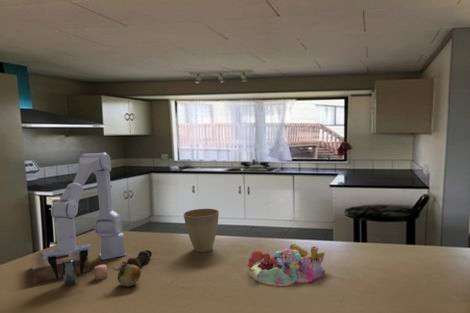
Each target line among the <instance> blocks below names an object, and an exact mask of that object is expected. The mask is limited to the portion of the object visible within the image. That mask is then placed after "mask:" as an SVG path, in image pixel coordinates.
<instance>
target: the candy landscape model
mask: <svg viewBox="0 0 470 313" xmlns="http://www.w3.org/2000/svg"><path fill="white" fill-rule="evenodd" d="M318 251H319V247H318V246H312V247H311V249H310V253H309V252H308V251H307V250H306V249H304V248H302V246H300V245H299V244H297V243H291V244H290V245H289V247H286V248H285V249H283V250H277V251H275V252H274V253H273V256H271V254H270V253H269V252H264V253H263V252H262V250H260V249H255V250H253V251H252V252H251V256H250V257H249V258H248V263H247V267H248V275H249V276H250V278H252V279H254V280H255V281H258V282H259V283H260V284H265V285H267V286H272V287H273V286H275V287H287V286H291V285H293V284H295V283H299V284H304V283H307V284H308V283H313V281H316V280H317V279H321V277H323V274H324V270H325V268H324V267H323V266H322V264H323V261H324V257H325V255H326V254H325V253H326V252H318ZM256 263H257V264H256Z"/></svg>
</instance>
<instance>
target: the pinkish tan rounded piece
mask: <svg viewBox="0 0 470 313" xmlns="http://www.w3.org/2000/svg"><path fill="white" fill-rule="evenodd" d="M107 267H108V266H107V264H98V265H96V266H94V276H95V280H96V281H102V280H106V279H107V278H108V276H109V275H108V268H107Z"/></svg>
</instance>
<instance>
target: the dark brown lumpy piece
mask: <svg viewBox="0 0 470 313" xmlns="http://www.w3.org/2000/svg"><path fill="white" fill-rule="evenodd" d="M152 254H153V252H152V251H150V250H148V249H145V250H141V251H140V252H138V254H137V256H136V257H129V258H128V260H126V262H127V264H129V265H136V266H138V267H139V269H140V270H141V267H142V264H146V263H149V261H150V258H151V257H152Z"/></svg>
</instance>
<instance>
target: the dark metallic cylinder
mask: <svg viewBox="0 0 470 313" xmlns="http://www.w3.org/2000/svg"><path fill="white" fill-rule="evenodd" d="M62 267H63V277H62V278H63V286H64V287H72V286H74V285H76V284H77V283H78V282H77V281H78V280H77V274H76V266H75V259H67V260H64V261H62Z"/></svg>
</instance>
